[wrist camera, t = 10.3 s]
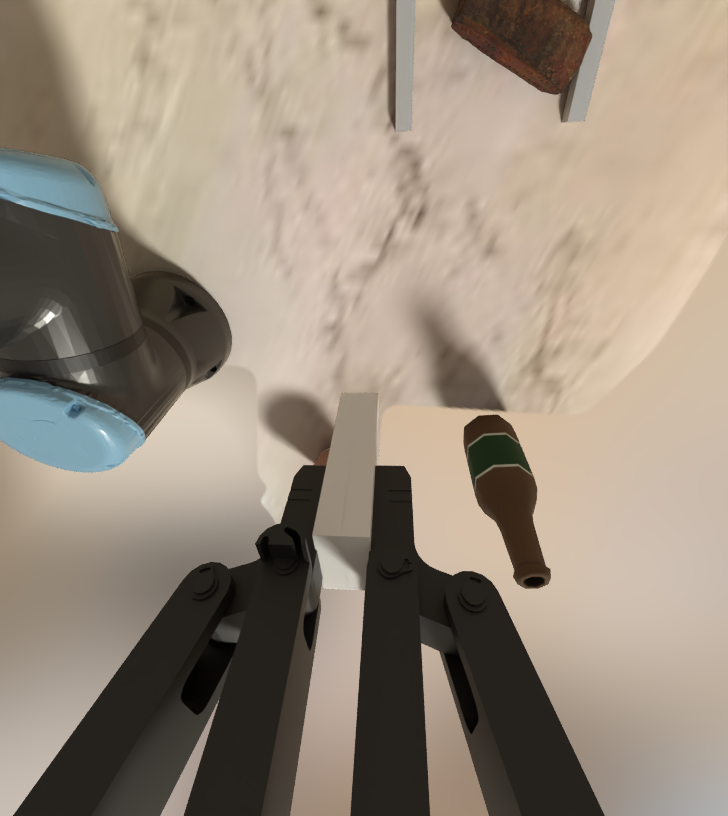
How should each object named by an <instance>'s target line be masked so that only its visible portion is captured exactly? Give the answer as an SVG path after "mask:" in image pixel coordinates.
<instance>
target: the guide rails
mask: <svg viewBox="0 0 728 816" xmlns="http://www.w3.org/2000/svg"><path fill="white" fill-rule="evenodd" d="M614 3H615V0H588V5H587V9H586V14H585V18H584V19H585V20H586V21H587V22H588V23H589V25H590V32H591V33H592V39H591V42H590V44H589V46H588V49H587V51H586V53H585V56H584V59H583V62H582V65H581V66H580V69H579V70H578V71H577V72H576V74H575V75H574V76H573V78H572V79H571V82H570V86H569V91H568V95H567V100H566V104H565V109H564V113H563V118H562V122H579V121H585V119H586V115H587V111H588V107H589V103H590V99H591V95H592V91H593V87H594V83H595V79H596V75H597V71H598V67H599V63H600V59H601V55H602V51H603V47H604V43H605V39H606V35H607V31H608V27H609V23H610V19H611V15H612V11H613V7H614ZM414 30H415V0H396V127H395V132H396V131H411V130H412V101H413V66H414Z"/></svg>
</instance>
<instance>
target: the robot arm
mask: <svg viewBox="0 0 728 816" xmlns="http://www.w3.org/2000/svg"><path fill="white" fill-rule="evenodd" d="M117 232H119V230H118V227H117V225H116V224H114V223H113V220H112V218H111V215H110V212H109V209H108V206H107V203H106V201H105V198H104V195H103V192H102V189H101V187H100V185H99V183H98V181H97V180H96V178H95V177H94V176H93V175H92V174H91V173H90V172H89V171H88V170H87V169H86V168H84V167H83V166H81V165H80V164H78V163H76V162H73V161H71V160H67V159H63V158H58V157H54V156H48V155H43V154H37V153H31V152H25V151H19V150H13V149H7V148H1V147H0V440H1V441H2V442H3V443H5V444H6V445H8V446H9V447H11V448H12V449H14V450H16V451H18V452H19V453H22V454H23V455H25V456H27V457H30V458H32V459H35V460H36V461H39V462H41V463H44V464H46V465H50V466H53V467H56V468H60V469H64V470H69V471H76V472H101V471H106V470H110V469H112V468H115V467H117V466H118V465H120V464H122V463H123V462H124V461H125V460H126V459H127V458H128V457H129V456H130V455H131V454H132V453H133V452H134V451H135V450H136V449H137V448H139V447H140V446H142V445H143V444H144V442H145V440H146V438H147V437H148V436H149V435H150V433H151V432H152V431H153V430H154V428H155V427H156V426H157V424H158V423H159V422H160V421H161V419H162V418H163V417H164V416H165V415H166V413H167V412H168V411H169V409H170V408H171V407H172V406H173V404H174V403H175V402H176V401H177V399H178V398H179V397H180V396H181V394H182V393H183V392H184V391H185V389H188V388H190V387H192V386H194V385H196V384H198V383H201V382H203V381H205V380H207V379H209V378H211V377H212V376H213V375H214V374H216V373H217V372H218V371H219V370H220V368H221V367H222V366H223V365H224V363H225V362H226V360H227V359H228V357H229V354H230V351H231V346H232V336H231V330H230V327H229V324H228V321H227V319H226V317H225V315H224V313H223V311H222V310H221V308H220V307H219V305H218V304H217V303H216V302H215V300H214V299H213V298H212V297H211V296H210V295H209V294H208V293H207V292H205V291H204V290H203V289H202V288H200V287H199V286H198V285H196V284H194V283H193V282H191V281H189V280H187V279H185V278H183V277H181V276H178V275H175V274H171V273H167V272H146V273H142V274H139V275H137V276H135V277H133V278H130V274H129V271H128V268H127V264H126V261H125V258H124V254H123V251H122V247H121V244H120V241H119V237H118V234H117ZM378 465H379V401H378V393H341V397H340V402H339V407H338V412H337V416H336V421H335V426H334V431H333V436H332V441H331V446H330V451H329V456H328V461H327V465H326V466H319V465H303V466H302V468H301V469H300V470H299V471H298V472H297V474H296V475H295V476H294V479H293V483H292V486H291V491H290V493H289V496H288V502H287V503H286V507H285V510H284V513H283V517H282V520H281V524H276V525H274V526H272V527H270V528H268V529H266V530H265V531H264V532H263V533H262V534H261V535H260V536H259V538H258V540H257V542H256V543H255V545H256V547H257V550H258V553H259V555H260V559H258V560H256V561H254V562H251V563H249V564H245V565H241V566H238V567H235V568H231V569H228V568H227V567H226V566H224V565H223V564H221V563H215V562H210V563H206V564H202V565H200V566H199V567H197V568H195V569H194V570H192V571H191V572H190V573H189V574H188V575H187V576H186V577H185V578H184V579H183V581H182V582H181V584H180V585H179V586H178V588H177V589H176V590H175V592H174V593H173V595H172V596H171V597H170V599H169V600H168V602H167V603H166V604H165V606H164V607H163V608H162V610H161V611H160V613H159V614H158V616H157V617H156V618H155V620H154V621H153V622H152V624H151V625H150V627H149V628H148V629H147V631H146V632H145V633H144V635H143V636H142V638H141V639H140V641H139V642H138V643H137V645H136V646H135V647H134V649H133V650H132V651H131V653H130V654H129V656H128V657H127V658H126V660H125V661H124V663H123V664H122V665H121V667H120V668H119V669H118V671H117V672H116V674H115V675H114V677H113V678H112V679H111V681H110V682H109V683H108V685H107V686H106V688H105V689H104V690H103V692H102V693H101V694H100V696H99V697H98V699H97V700H96V702H95V703H94V704H93V706H92V707H91V708H90V710H89V711H88V712H87V714H86V715H85V717H84V718H83V719H82V721H81V722H80V724H79V725H78V726H77V728H76V729H75V731H74V732H73V733H72V735H71V736H70V738H69V739H68V740H67V742H66V743H65V744H64V746H63V747H62V749H61V750H60V751H59V753H58V754H57V755H56V757H55V758H54V760H53V761H52V762H51V764H50V765H49V767H48V768H47V769H46V771H45V772H44V773H43V775H42V776H41V778H40V779H39V780H38V782H37V783H36V785H35V786H34V787H33V789H32V790H31V791H30V793H29V794H28V796H27V797H26V798H25V800H24V801H23V803H22V804H21V805H20V807H19V808H18V810H17V811H16V812H15V814H14V815H13V816H160V815H161V813H162V811H163V809H164V807H165V805H166V803H167V801H168V799H169V797H170V795H171V793H172V791H173V789H174V787H175V785H176V783H177V781H178V779H179V777H180V775H181V773H182V771H183V769H184V767H185V765H186V763H187V761H188V759H189V757H190V756H191V754H192V751H193V750H194V748H195V746H196V744H197V741H198V740H199V738H200V736H201V734H202V732H203V730H204V728H205V726H206V724H207V722H208V720H209V718H210V716H211V714H212V712H213V710H214V708H215V706H216V704H217V702H218V700H219V703H218V706H217V709H216V712H215V716H214V719H213V722H212V725H211V729H210V732H209V735H208V738H207V742H206V745H205V748H204V751H203V755H202V758H201V761H200V764H199V768H198V771H197V774H196V778H195V781H194V784H193V787H192V791H191V794H190V797H189V800H188V804H187V807H186V810H185V813H184V816H290V811H291V805H292V798H293V791H294V785H295V778H296V771H297V765H298V758H299V752H300V745H301V739H302V732H303V725H304V718H305V711H306V705H307V699H308V692H309V686H310V679H311V672H312V666H313V659H314V652H315V646H316V639H317V633H318V625H319V619H320V612H321V601H320V592H321V586H322V583H323V588H325V589H346V590H347V589H348V590H365V601H364V617H363V632H362V648H361V663H360V678H359V693H358V708H357V724H356V725H357V726H356V739H355V754H354V770H353V785H352V801H351V816H430V807H429V789H428V770H427V752H426V751H427V749H426V731H425V711H424V692H423V673H422V655H421V643H423V644H425V645H428V646H429V647H432V648H434V649H436V650H438V651H440V654H441V658H442V661H443V665H444V668H445V671H446V675H447V678H448V681H449V685H450V688H451V691H452V695H453V698H454V701H455V704H456V708H457V711H458V714H459V718H460V721H461V724H462V728H463V731H464V734H465V737H466V741H467V744H468V747H469V751H470V754H471V757H472V761H473V764H474V767H475V771H476V774H477V777H478V780H479V784H480V787H481V790H482V793H483V797H484V800H485V804H486V807H487V810H488V814H489V816H604V813H603V811H602V809H601V807H600V805H599V803H598V801H597V799H596V797H595V794H594V792H593V790H592V788H591V786H590V784H589V782H588V780H587V778H586V775H585V773H584V771H583V769H582V767H581V765H580V763H579V761H578V759H577V756H576V754H575V752H574V750H573V748H572V746H571V744H570V742H569V740H568V737H567V735H566V733H565V731H564V729H563V727H562V725H561V723H560V721H559V718H558V717H557V714H556V712H555V710H554V708H553V706H552V704H551V702H550V700H549V697H548V695H547V693H546V691H545V689H544V687H543V685H542V683H541V681H540V678H539V676H538V674H537V672H536V670H535V668H534V666H533V664H532V662H531V660H530V658H529V655H528V653H527V651H526V649H525V647H524V645H523V643H522V641H521V638H520V636H519V634H518V632H517V630H516V628H515V626H514V624H513V622H512V619H511V617H510V616H509V613H508V611H507V609H506V607H505V605H504V603H503V601H502V599H501V596H500V594H499V592H498V591H497V589H496V588H495V586H494V585H493V583H492V582H491V581H490V580H488V579H487V578H486V577H484V576H483V575H481V574H478V573H476V572H472V571H462V572H459V573H457V574H455V575H453V576H452V575H449V574H447V573H444V572H441V571H439V570H436V569H434V568H432V567H430V566H429V565H427V564H426V563H425V562H424V561H423V560H422V559H421V558H420V557H419V555H418V553H417V551H416V549H415V545H414V530H413V509H412V490H411V477H410V475H409V474H408V472H407V470H406V468H405V467H404V466H378ZM219 698H220V699H219Z"/></svg>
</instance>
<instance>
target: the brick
mask: <svg viewBox="0 0 728 816" xmlns="http://www.w3.org/2000/svg"><path fill="white" fill-rule="evenodd" d="M451 27H452V29H453V30H454V31H455V32H457V33H458V34H459V35H460V36H461V38H463V39H465V40H467V41H469V42H470V43H471V44H472V45H473V46H475V47H476V48H477V49H478V50H480V51H481V52H482V53H484V54H486V55H487V56H489V57H490V58H491V59H493V60H494V61H496V62H497V63H499V64H501V65H502V66H504V67H505V68H507V69H508V70H510V71H511V72H513V73H514V74H516V75H517V76H519V77H520V78H522V79H523V80H525V81H526V82H528V83H529V84H531V85H533V86H534V87H535V88H537V89H538V90H540V91H541V92H547V93H550V94H555V95H556V94H559V93H562V92H563V91H564V89H565V88H566V87H567V85H568V84H569V82H570V81H571V79H572V78H573V76H574V75H575V74H576V72H577V71H578V70H579V69H580V66H581V65H582V62H583V59H584V56H585V53H586V51H587V49H588V46H589V44H590V42H591V39H592V33H591V32H590V25H589V23H588V22H587V21H586V20H585V19H583V18H582V17H581V16H580V15H578V14H577V13H576V12H574V11H572V10H571V9H570V8H569V7H568V6H567V5H565V4H564V3H562V2H561V1H559V0H461V2H460V4H459V7H458V9H457V11H456V14H455V17H454V19H453V22H452V25H451Z"/></svg>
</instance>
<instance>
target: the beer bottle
mask: <svg viewBox="0 0 728 816" xmlns="http://www.w3.org/2000/svg"><path fill="white" fill-rule="evenodd" d="M464 448H465V453H466V457H467V462H468V466H469V471H470V475H471V479H472V484H473V488H474V492H475V496H476V499H477V502H478V504H479V506H480V507H481V509H482V510H483V511H484V513H485V514H486V515H488V516H489V517H490V518H492V519H493V520H494V521H495V522H496V523H497V525H498V527H499V529H500V531H501V533H502V536H503V539H504V542H505V545H506V548H507V551H508V553H509V556H510V559H511V562H512V565H513V568H514V575H513V577H514V579H515V581H516V582H517V584H518V585H520V586H522V587H524V588H526V589H529V588H540V587H543V586H545V585H548V584H549V581H550V578H551V574H550V569H549V568H547V567H546V565H545V562H544V559H543V555H542V552H541V548H540V545H539V541H538V538H537V534H536V531H535V527H534V524H533V516H532V515H533V512H534V509H535V504H536V500H537V486H536V483H535V479H534V477H533V474H532V472H531V469H530V467H529V464H528V462H527V460H526V457H525V455H524V452H523V450H522V448H521V446H520V443H519V440H518V438H517V436H516V433H515V431H514V429H513V428H512V426H511V425H510V424H509V423H508V422H507V421H505V420H504V419H503V418H501V417H500V416H499V415H483V416H478V417H476V418H475V419H474V420H472V421H471V422H470V423H469V424H467V425H466V426H465V427H464Z"/></svg>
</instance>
